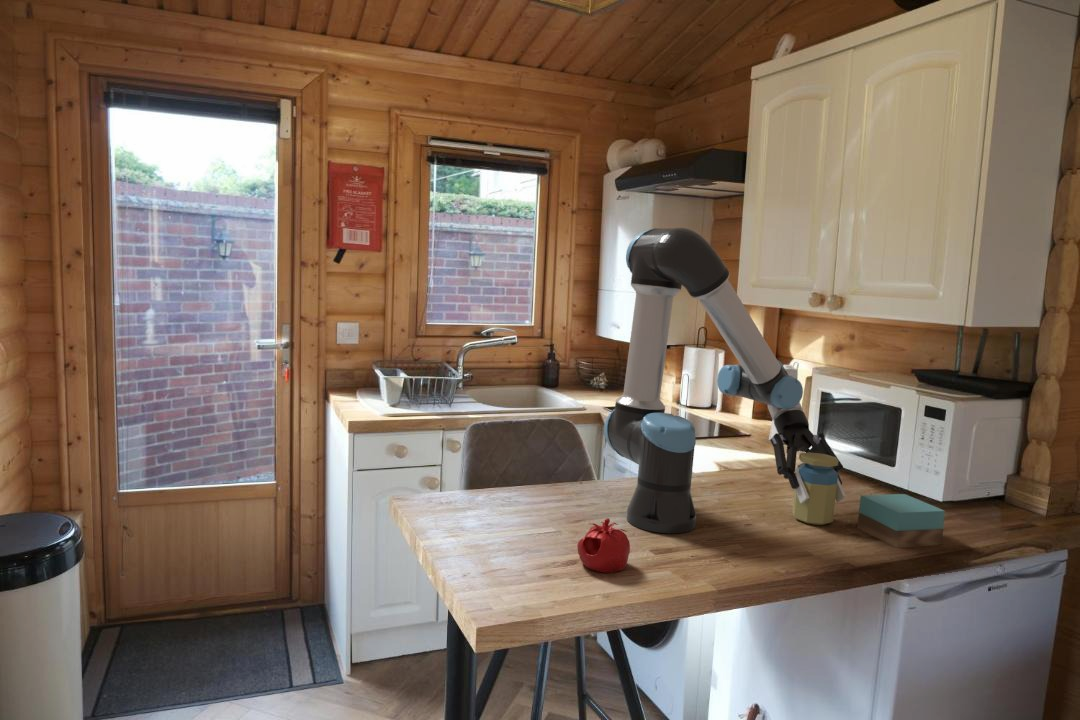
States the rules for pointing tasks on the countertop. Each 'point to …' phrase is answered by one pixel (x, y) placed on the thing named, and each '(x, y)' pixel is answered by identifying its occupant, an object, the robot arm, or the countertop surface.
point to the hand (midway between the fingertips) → (823, 499)
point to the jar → (817, 488)
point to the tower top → (901, 512)
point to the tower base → (899, 534)
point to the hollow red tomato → (604, 548)
